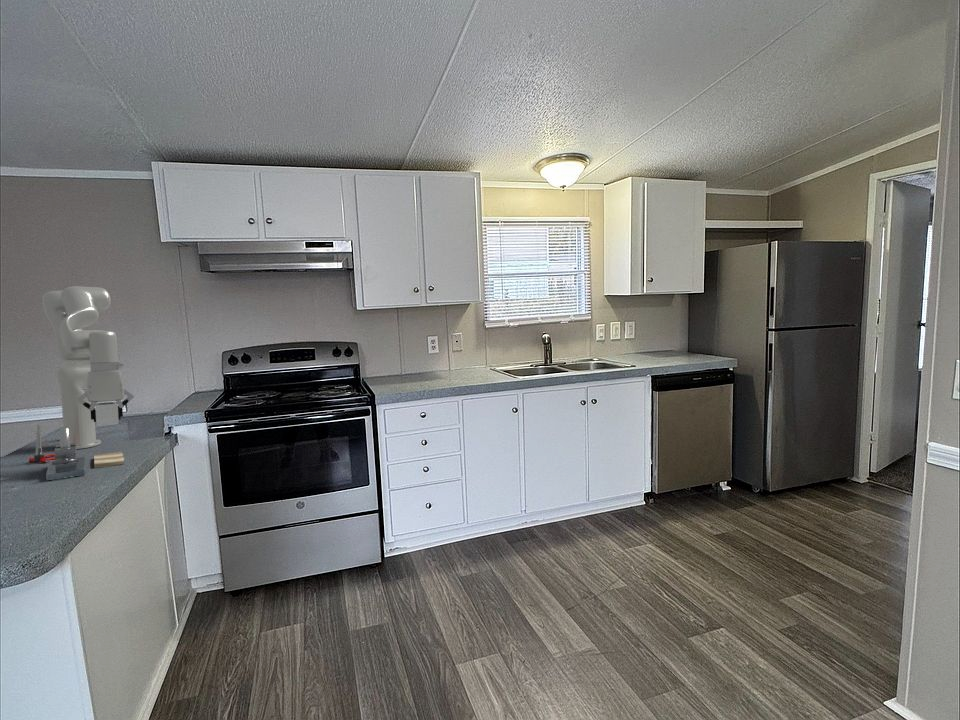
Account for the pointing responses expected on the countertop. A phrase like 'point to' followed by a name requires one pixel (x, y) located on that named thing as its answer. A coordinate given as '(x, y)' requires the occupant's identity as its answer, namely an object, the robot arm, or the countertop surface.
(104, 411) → the white hollow square block
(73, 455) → the grey peg stand
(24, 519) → the countertop surface
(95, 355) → the robot arm
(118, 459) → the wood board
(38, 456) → the tow hook
